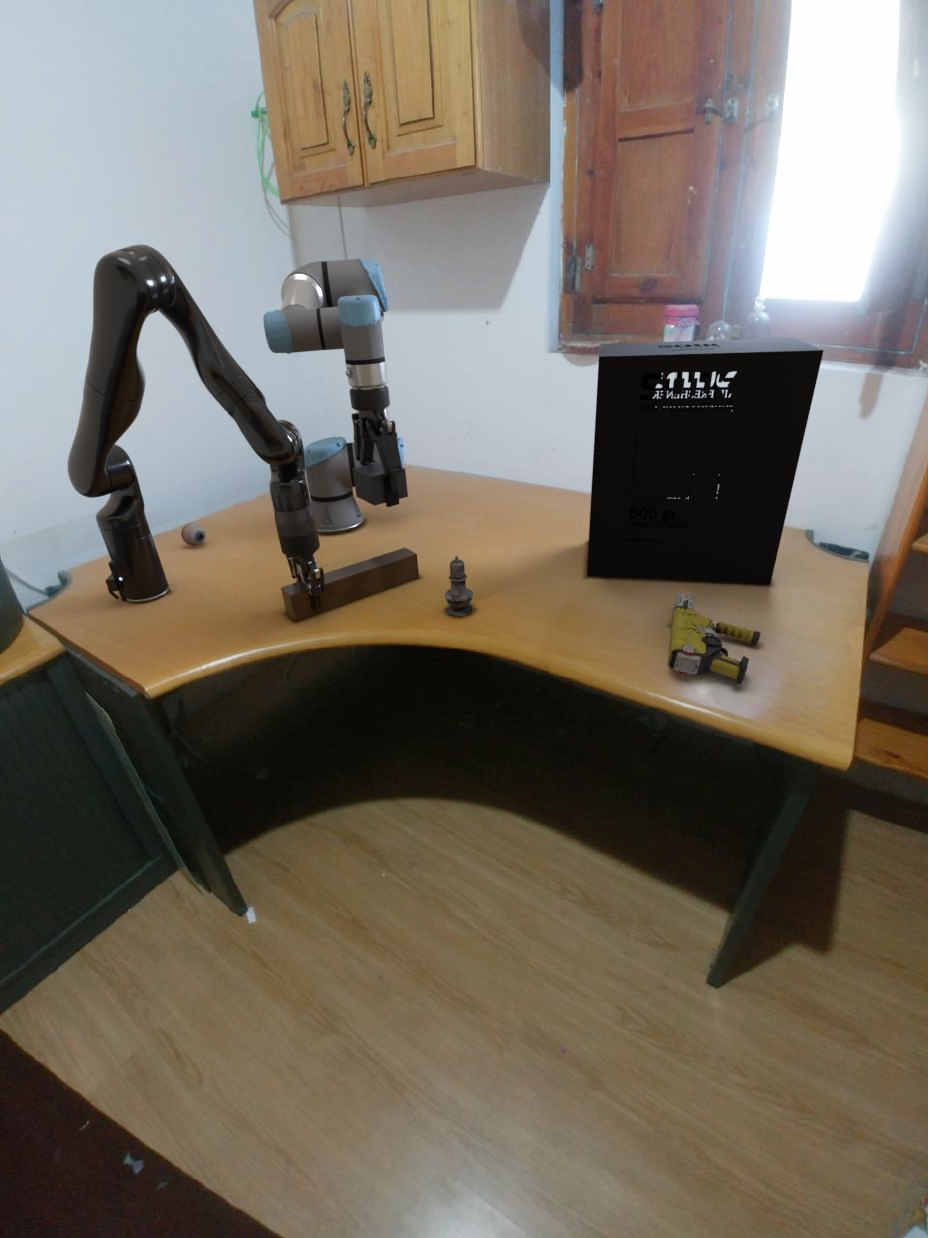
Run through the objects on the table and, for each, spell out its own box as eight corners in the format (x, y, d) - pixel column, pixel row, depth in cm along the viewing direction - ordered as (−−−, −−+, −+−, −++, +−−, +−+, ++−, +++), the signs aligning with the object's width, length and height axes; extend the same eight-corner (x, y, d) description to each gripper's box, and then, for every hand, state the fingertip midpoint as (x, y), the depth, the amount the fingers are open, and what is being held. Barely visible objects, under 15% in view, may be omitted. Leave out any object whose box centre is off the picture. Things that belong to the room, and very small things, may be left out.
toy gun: (759, 604, 113) (676, 588, 117) (772, 670, 93) (671, 649, 97) (752, 625, 115) (671, 610, 119) (763, 695, 95) (665, 673, 99)
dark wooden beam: (295, 621, 123) (289, 595, 120) (286, 612, 126) (280, 587, 123) (419, 577, 138) (417, 553, 135) (407, 570, 141) (405, 547, 138)
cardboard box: (751, 546, 143) (793, 337, 120) (770, 584, 126) (823, 350, 103) (589, 540, 150) (600, 343, 128) (586, 576, 133) (598, 356, 111)
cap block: (374, 505, 122) (370, 476, 119) (356, 496, 128) (352, 468, 125) (408, 496, 126) (405, 468, 123) (389, 488, 132) (385, 460, 129)
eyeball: (194, 551, 158) (188, 529, 155) (180, 546, 161) (173, 525, 158) (213, 542, 162) (208, 521, 159) (199, 539, 165) (192, 518, 162)
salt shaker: (471, 617, 120) (468, 562, 114) (442, 615, 121) (438, 561, 115) (476, 603, 125) (474, 550, 119) (449, 601, 126) (445, 549, 120)
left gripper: (265, 523, 121) (282, 597, 130) (293, 543, 111) (309, 623, 119) (300, 513, 125) (314, 587, 133) (330, 532, 115) (343, 610, 123)
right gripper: (327, 383, 121) (344, 492, 133) (377, 395, 106) (391, 517, 118) (360, 378, 125) (374, 485, 136) (413, 389, 110) (424, 508, 122)
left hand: (312, 603), depth 126 cm, fingers closed on dark wooden beam, 5 cm apart
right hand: (382, 500), depth 127 cm, fingers closed on cap block, 8 cm apart
